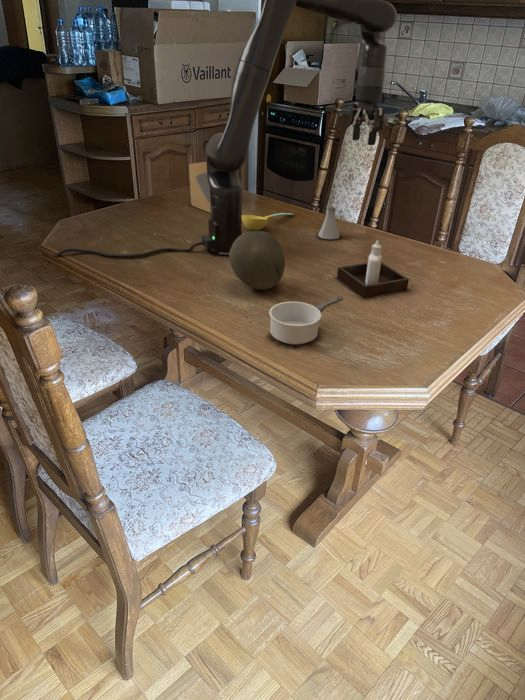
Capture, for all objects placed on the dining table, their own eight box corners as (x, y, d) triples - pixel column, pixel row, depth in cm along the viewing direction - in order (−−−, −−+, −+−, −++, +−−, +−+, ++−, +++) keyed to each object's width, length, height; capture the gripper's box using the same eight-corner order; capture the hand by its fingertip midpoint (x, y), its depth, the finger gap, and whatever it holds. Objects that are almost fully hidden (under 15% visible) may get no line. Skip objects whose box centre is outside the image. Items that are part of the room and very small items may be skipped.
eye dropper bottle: (358, 283, 146) (364, 241, 139) (371, 277, 149) (376, 236, 143) (371, 288, 143) (378, 245, 137) (384, 282, 146) (390, 240, 140)
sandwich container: (215, 215, 193) (214, 172, 186) (190, 205, 203) (188, 164, 195) (233, 210, 198) (233, 168, 191) (208, 201, 208) (207, 160, 200)
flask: (340, 240, 174) (344, 210, 169) (318, 239, 174) (321, 209, 169) (338, 233, 181) (341, 203, 175) (317, 232, 181) (319, 202, 175)
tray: (363, 298, 138) (365, 286, 137) (336, 278, 149) (338, 267, 147) (407, 290, 143) (409, 279, 142) (378, 271, 154) (379, 260, 152)
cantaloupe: (277, 275, 149) (279, 222, 142) (288, 297, 138) (291, 241, 130) (227, 278, 147) (226, 224, 139) (233, 300, 135) (233, 244, 127)
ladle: (234, 228, 179) (236, 210, 177) (280, 227, 200) (282, 211, 198) (255, 233, 174) (257, 215, 172) (299, 231, 195) (302, 215, 193)
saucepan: (356, 327, 125) (359, 306, 122) (290, 353, 115) (291, 330, 112) (322, 308, 133) (324, 288, 130) (258, 331, 122) (258, 309, 119)
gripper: (346, 81, 161) (340, 138, 169) (373, 86, 150) (366, 147, 158) (367, 81, 164) (360, 137, 172) (395, 86, 153) (387, 146, 161)
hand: (363, 142), depth 165 cm, fingers open, 8 cm apart
